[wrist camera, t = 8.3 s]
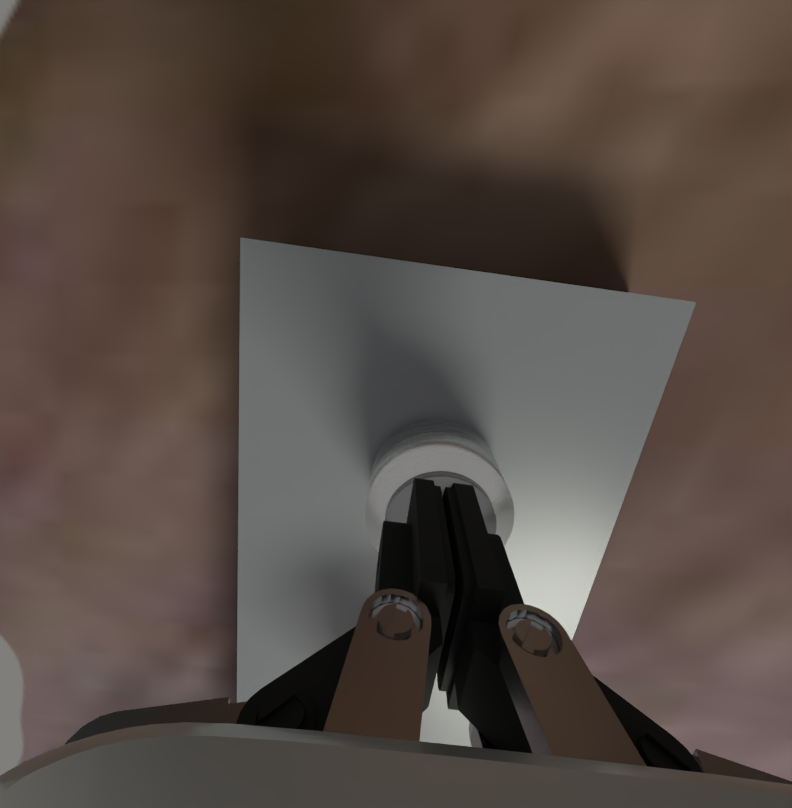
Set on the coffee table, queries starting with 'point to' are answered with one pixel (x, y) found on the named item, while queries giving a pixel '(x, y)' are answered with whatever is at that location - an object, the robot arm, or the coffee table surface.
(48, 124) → the coffee table surface
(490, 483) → the knob
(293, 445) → the knob panel
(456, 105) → the coffee table surface
